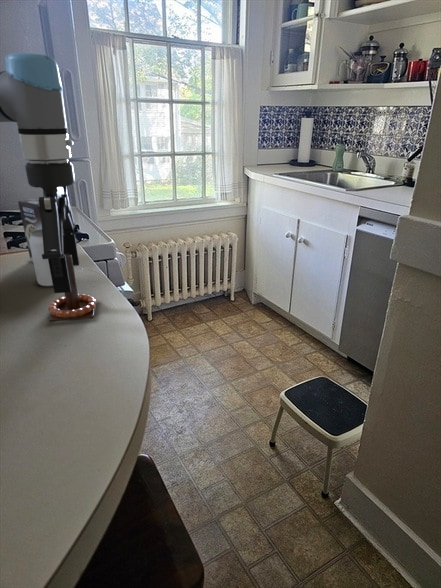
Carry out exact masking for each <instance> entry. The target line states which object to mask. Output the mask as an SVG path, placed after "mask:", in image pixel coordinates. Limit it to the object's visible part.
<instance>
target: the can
mask: <svg viewBox="0 0 441 588" xmlns="http://www.w3.org/2000/svg"><path fill="white" fill-rule="evenodd" d="M29 244H30V249H31V254H32V258H33V262H32V263H33V267H34V274H35V277H36V282H37V284H38V285H40V286H41V287H53V283H52V278H51V272H50V267H49V261H48V259H43V258H42V254H44V248H43V235H42V229H41V230H36V231H33V232H31V233H30V239H29ZM51 251H57V250H55V249H54V250H51Z"/></svg>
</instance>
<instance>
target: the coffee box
mask: <svg viewBox="0 0 441 588" xmlns="http://www.w3.org/2000/svg"><path fill="white" fill-rule="evenodd" d="M38 200H39V197H38V198H29V199H24V200H19V201H17V204H18V208H19V213H20V217H21V223H22V226H23V231H24V237H25V241H26V246H27V251H28V255H29V259H30V262H32V263H33V258H32V254H31V249H30V244H29V239H30V233H31V232H33V231H36V230H41V229H42V222H41V211H40V204H39V201H38ZM63 234H64V233H63Z"/></svg>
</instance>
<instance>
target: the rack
mask: <svg viewBox="0 0 441 588" xmlns="http://www.w3.org/2000/svg"><path fill="white" fill-rule="evenodd" d="M64 256H66V262H67V268H68V274H69V280H70V286H71V292H66V293H64V296H65V299H66V303H64V304H62V305H60V306H58V307H57V309H59V310H66V311H68V310H76V309H80V308H83V307H85V306H87V305H88V304H89V303H88V302H85V301H79V297H78V294H79V292H78V286H77V279H76V274H75V268H74V267H75V266H73V261H72V255H70V254H64ZM94 299H95V300H96V305H97V303H98V302H97V301H98V300H97V298H94ZM96 309H97V306H96V307H95V308H94V309H93V310H92V311H91V312H89V313H87V314H85V315H82V316H78V317H72V318H61V317H56V316H54V315H52V314H51V313H50V316H49V319H48V322H50V323H51V322H60V321H71V320H72V321H73V320H81V319H82V320H83V319H93V318H94V316H95V313H96Z"/></svg>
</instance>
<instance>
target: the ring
mask: <svg viewBox="0 0 441 588" xmlns="http://www.w3.org/2000/svg"><path fill="white" fill-rule="evenodd" d="M78 297H79V301H85V302H88V303H89V304H88V305H87V306H85V307H83V308H80V309H76V310H68V311H66V310H59V309H57V307H58V306H60V305H62V304H64V303H66V299H65V295H63V296H61V297H58V298H56V299H54V300H53V301H52V302H50V304H49V307H48V311H49V313H50V315H51V314H52V315H54V316H56V317H61V318H72V317H78V316H82V315H85V314H87V313H89V312H91V311H92V310H93V309H94V308H95V307H96V308H97V304H96V301H97V299H96V298H94V297H93V296H92V295H89V294H84V293H78ZM95 299H96V300H95Z"/></svg>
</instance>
